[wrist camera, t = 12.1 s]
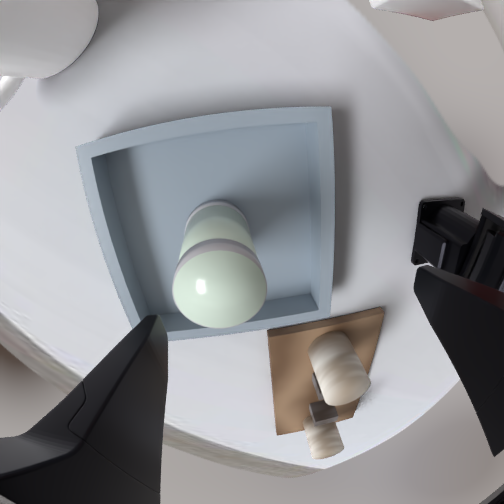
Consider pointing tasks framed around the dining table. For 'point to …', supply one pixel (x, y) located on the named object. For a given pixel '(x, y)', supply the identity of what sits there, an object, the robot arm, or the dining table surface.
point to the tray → (218, 188)
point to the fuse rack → (322, 375)
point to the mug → (41, 39)
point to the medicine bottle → (429, 7)
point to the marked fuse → (218, 268)
